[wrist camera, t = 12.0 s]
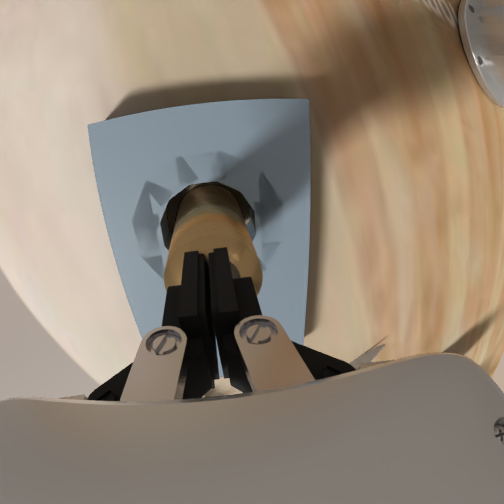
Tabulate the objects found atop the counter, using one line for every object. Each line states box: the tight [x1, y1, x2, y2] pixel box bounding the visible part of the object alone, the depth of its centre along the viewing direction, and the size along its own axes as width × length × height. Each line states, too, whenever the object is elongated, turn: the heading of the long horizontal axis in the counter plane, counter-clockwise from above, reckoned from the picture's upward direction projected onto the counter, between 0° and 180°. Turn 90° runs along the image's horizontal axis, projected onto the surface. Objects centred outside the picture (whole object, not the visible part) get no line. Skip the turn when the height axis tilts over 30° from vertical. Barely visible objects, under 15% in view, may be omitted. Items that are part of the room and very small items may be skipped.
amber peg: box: [164, 185, 263, 296], centre depth 15 cm, size 4×4×8 cm
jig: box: [88, 99, 311, 377], centre depth 19 cm, size 20×12×2 cm, turn 3°
